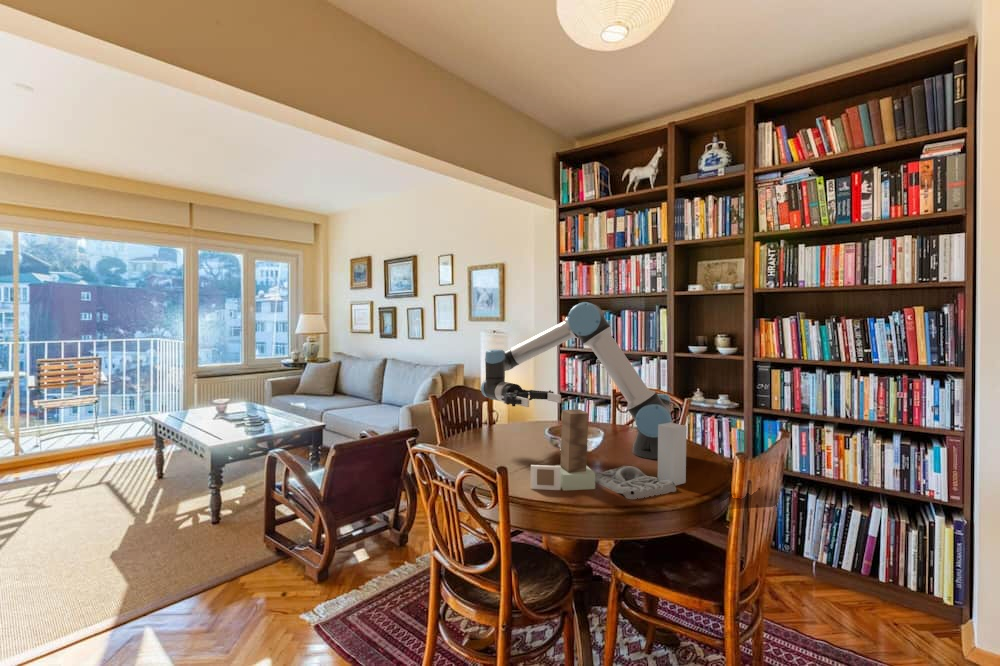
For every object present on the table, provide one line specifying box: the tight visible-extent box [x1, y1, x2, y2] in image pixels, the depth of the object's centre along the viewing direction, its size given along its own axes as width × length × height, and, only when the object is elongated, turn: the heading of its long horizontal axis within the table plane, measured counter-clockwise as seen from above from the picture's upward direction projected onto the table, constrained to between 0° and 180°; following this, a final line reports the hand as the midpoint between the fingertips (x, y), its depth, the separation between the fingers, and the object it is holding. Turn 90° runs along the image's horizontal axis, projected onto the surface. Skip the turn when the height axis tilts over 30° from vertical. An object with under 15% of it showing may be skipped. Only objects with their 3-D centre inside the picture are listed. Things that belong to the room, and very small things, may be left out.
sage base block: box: [554, 464, 596, 491], centre depth 151 cm, size 10×10×5 cm
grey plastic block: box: [657, 422, 687, 487], centre depth 153 cm, size 6×6×18 cm
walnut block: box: [559, 409, 589, 473], centre depth 151 cm, size 6×6×18 cm
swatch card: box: [530, 464, 561, 491], centre depth 147 cm, size 2×9×7 cm, turn 83°
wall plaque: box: [591, 464, 677, 500], centre depth 152 cm, size 24×19×4 cm
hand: (544, 401), depth 163 cm, fingers open, 13 cm apart
